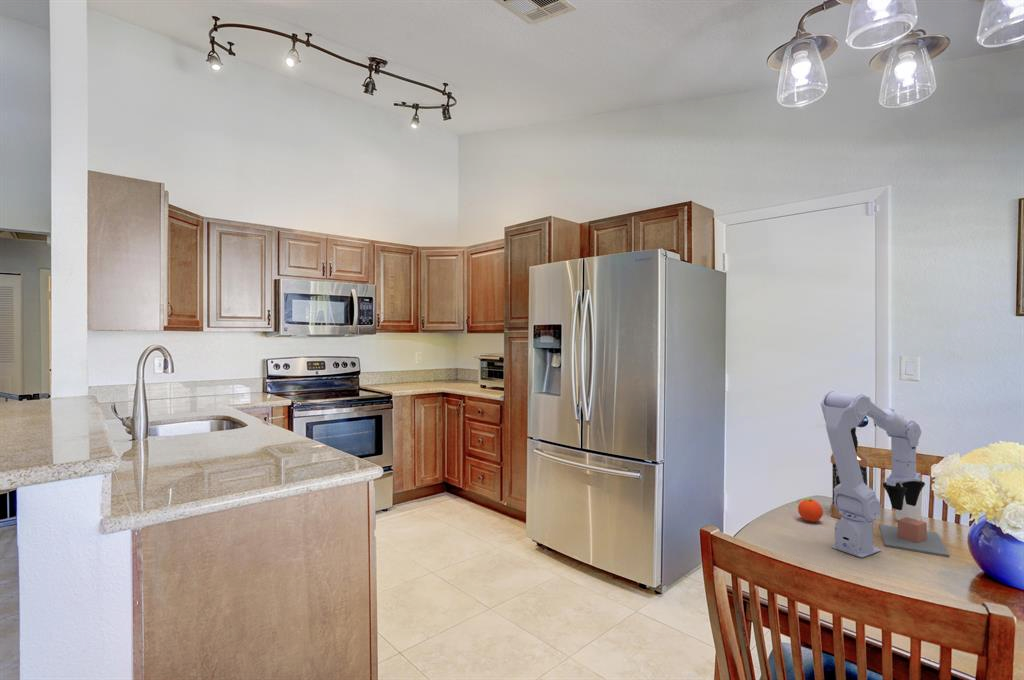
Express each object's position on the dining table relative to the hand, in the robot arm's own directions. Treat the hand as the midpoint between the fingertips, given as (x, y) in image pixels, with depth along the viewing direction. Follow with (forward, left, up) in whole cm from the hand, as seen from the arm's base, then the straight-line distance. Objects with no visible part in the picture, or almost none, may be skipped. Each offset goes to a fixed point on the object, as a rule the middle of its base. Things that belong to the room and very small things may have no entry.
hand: (904, 507), depth 146 cm
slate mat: (+1, -2, -9) cm, 9 cm away
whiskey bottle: (+7, +18, -10) cm, 22 cm away
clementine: (-9, +22, -10) cm, 26 cm away
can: (+17, +6, -10) cm, 20 cm away
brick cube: (+1, -2, -9) cm, 9 cm away
